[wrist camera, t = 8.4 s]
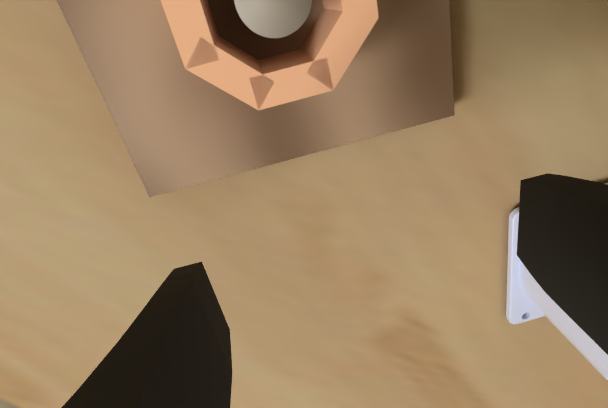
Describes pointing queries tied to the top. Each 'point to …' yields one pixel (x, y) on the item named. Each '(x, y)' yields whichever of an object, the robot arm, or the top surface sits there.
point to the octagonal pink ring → (277, 69)
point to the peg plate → (240, 116)
